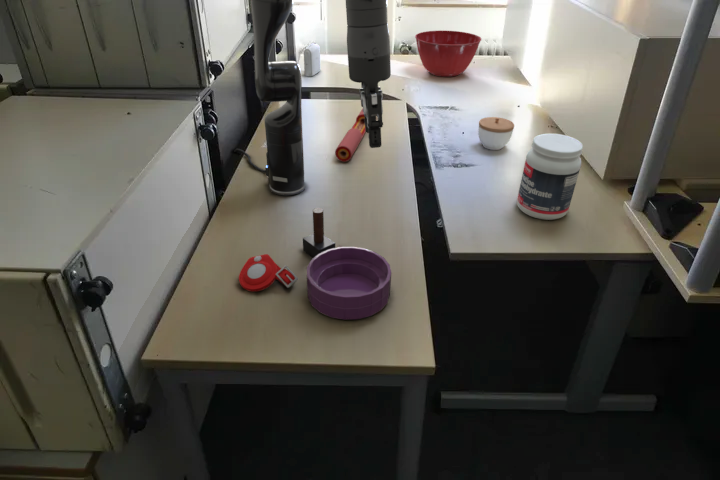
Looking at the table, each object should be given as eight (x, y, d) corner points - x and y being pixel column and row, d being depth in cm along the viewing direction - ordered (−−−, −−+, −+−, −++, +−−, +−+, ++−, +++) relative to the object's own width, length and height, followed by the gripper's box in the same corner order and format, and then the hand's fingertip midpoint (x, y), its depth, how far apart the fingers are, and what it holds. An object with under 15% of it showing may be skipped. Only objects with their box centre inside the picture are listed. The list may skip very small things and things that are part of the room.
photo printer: (312, 77, 227) (311, 47, 220) (303, 76, 228) (302, 46, 221) (321, 71, 235) (321, 42, 228) (313, 69, 236) (312, 41, 229)
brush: (303, 251, 117) (301, 208, 111) (319, 244, 120) (317, 201, 114) (319, 263, 114) (318, 219, 108) (335, 256, 116) (335, 212, 110)
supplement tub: (506, 208, 135) (519, 141, 125) (532, 192, 143) (546, 127, 133) (552, 228, 128) (570, 158, 118) (577, 210, 135) (596, 142, 125)
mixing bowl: (401, 67, 242) (403, 32, 234) (453, 61, 253) (457, 27, 244) (433, 85, 221) (437, 46, 213) (489, 77, 231) (495, 41, 223)
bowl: (291, 290, 106) (290, 266, 102) (353, 260, 115) (353, 237, 111) (342, 334, 96) (343, 309, 92) (406, 297, 105) (408, 273, 101)
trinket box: (510, 142, 172) (515, 114, 167) (509, 155, 163) (514, 126, 158) (477, 137, 174) (481, 110, 169) (474, 150, 165) (478, 121, 160)
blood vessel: (364, 113, 191) (365, 99, 189) (378, 114, 190) (378, 101, 188) (335, 160, 157) (334, 145, 154) (351, 162, 156) (351, 147, 153)
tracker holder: (235, 291, 103) (237, 253, 110) (243, 304, 107) (244, 266, 113) (295, 278, 103) (293, 240, 109) (301, 291, 106) (299, 254, 113)
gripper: (345, 46, 99) (351, 129, 108) (350, 61, 87) (356, 154, 95) (385, 42, 100) (387, 126, 108) (395, 57, 87) (397, 150, 96)
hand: (373, 139), depth 102 cm, fingers open, 8 cm apart
